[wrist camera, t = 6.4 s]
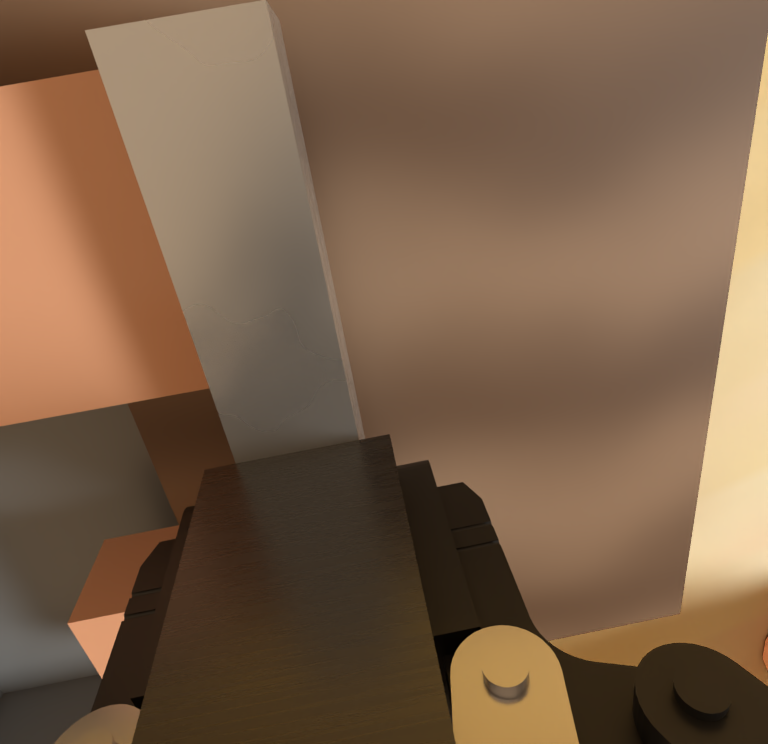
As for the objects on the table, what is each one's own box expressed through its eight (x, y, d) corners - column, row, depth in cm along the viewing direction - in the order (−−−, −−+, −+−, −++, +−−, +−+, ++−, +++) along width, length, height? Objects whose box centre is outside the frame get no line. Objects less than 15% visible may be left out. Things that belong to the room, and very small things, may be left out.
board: (-16, -63, 10) (-82, -90, 9) (725, -177, 11) (806, -225, 9) (258, 645, 20) (253, 701, 18) (647, 566, 20) (679, 613, 19)
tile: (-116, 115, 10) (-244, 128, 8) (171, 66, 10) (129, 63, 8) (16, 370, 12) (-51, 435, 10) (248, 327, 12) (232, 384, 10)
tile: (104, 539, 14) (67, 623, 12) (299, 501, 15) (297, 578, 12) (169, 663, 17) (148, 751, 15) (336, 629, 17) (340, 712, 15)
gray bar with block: (120, 47, 9) (-615, -37, 2) (311, 14, 9) (309, -182, 2) (325, 676, 17) (335, 1126, 9) (427, 655, 17) (512, 1086, 10)
